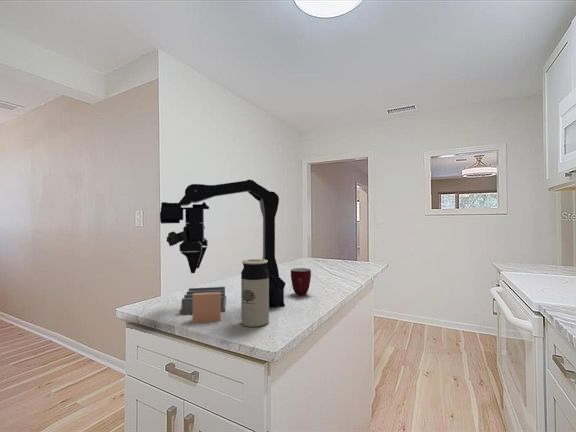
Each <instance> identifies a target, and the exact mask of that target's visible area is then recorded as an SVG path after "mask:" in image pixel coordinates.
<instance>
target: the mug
mask: <svg viewBox="0 0 576 432" xmlns="http://www.w3.org/2000/svg"><path fill="white" fill-rule="evenodd" d="M311 278H312V270H311V269H310V268H306V267H304V268H303V267H298V268H292V269H290V280H291V285H292V286H291V287H292V290H293V291H294V294H295V295H296V296H297V295H298V297H304V295H305V296H306V295H307V293H308V292H309V290H310V286H311V285H310V284H311Z"/></svg>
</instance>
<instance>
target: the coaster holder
mask: <svg viewBox="0 0 576 432" xmlns="http://www.w3.org/2000/svg"><path fill="white" fill-rule="evenodd" d="M207 292H221V313H226V305H227V295H226V287H225V286H211V287H210V286H209V287H208V286H207V287H189V288H188V290H187V291H186V294H184V297H183V298H181V308H180V309H179V315H193V294H194V293H207Z"/></svg>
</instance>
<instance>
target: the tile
mask: <svg viewBox="0 0 576 432" xmlns="http://www.w3.org/2000/svg"><path fill="white" fill-rule="evenodd" d="M221 319H222V312H221V292H207V293H194V294H193V314H192V323H204V322H205V323H206V322H207V321H208V322H220V321H221Z"/></svg>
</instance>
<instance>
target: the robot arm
mask: <svg viewBox="0 0 576 432" xmlns="http://www.w3.org/2000/svg"><path fill="white" fill-rule="evenodd" d="M239 193H248V194H249V195H250V196H251V197H253V199H255V200H256V201H258V202H259V206H260V212H261V216H262V259H264V260H267V261H268V262H267V266H266V267H267V269H268V271H269V308H275V307H285V306H286V304H285V295H284V294H285V293H284V292H285V286H286V282H285V281H284V280H283V279H282V278H281V277H280V274H279V273H280V271H279V266H278V264H277V259H276V217H277V213H278V212H277V211H278V210H279V205H280V204H279V203H280V197H279V195H278V194H277V193H276V192H275V191H272V190H271V191H269V190H268V189H267V188H265V187H264V186H262V185H260V184H258V183H257V182H256V181H255V180H253V179H250V178H249V179H246V180H241V181H240V180H239V181H234V182H227V183H220V184H219V183H218V184H205V183H203V184H201V183H192V184H189V185H187V186H186V188H185V191H184V196H183V197H182V198H181V199H180V200H179V202H166V201H164V202H163V201H162V202H161V203H160V204H161V205H160V211H159V219H160V221H159V222H160V224H164V225H165V224H180V223H181V221H184V219H185V226H184V227H182V228H183V230H182V231H180V232H175V231H170V232H168V235H167V236H166V243H168V246H169V247H172V246H175V245H177V244H179V243H180V244H179V252H180V253H181V255H184V256H185V257H186V260H187V263H188V266H189V271H190V274H195V273H196V271H197V269H199V268H200V267H201V263H202V261H203V259H204V256H205V254H206V251H207V249H208V243H209V241H208V240H207V238H205V235H204V234H205V223H204V221H205V219H204V215H205V214H204V210H210V206H209V205H208V204H207V203H206V200H209V199H211V198H215V197H221V196H227V195H233V194H239ZM200 202H202V203H200ZM192 203H193V204H192ZM198 203H200V204H198ZM190 204H192V207H189V205H190ZM187 206H188V207H187ZM184 210H185V214H184ZM184 215H185V218H184Z"/></svg>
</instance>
